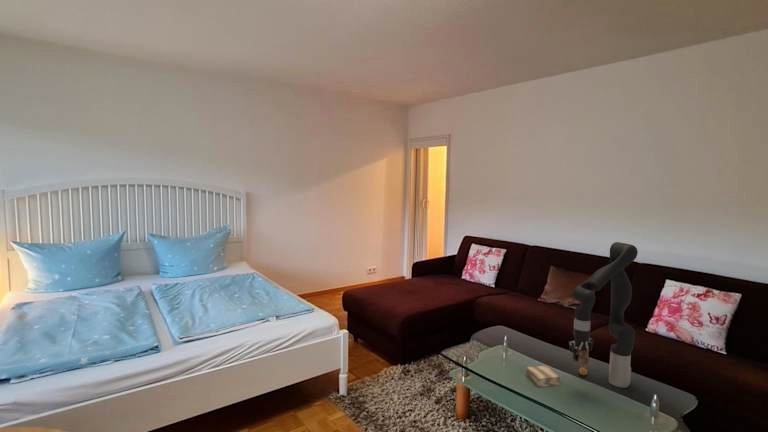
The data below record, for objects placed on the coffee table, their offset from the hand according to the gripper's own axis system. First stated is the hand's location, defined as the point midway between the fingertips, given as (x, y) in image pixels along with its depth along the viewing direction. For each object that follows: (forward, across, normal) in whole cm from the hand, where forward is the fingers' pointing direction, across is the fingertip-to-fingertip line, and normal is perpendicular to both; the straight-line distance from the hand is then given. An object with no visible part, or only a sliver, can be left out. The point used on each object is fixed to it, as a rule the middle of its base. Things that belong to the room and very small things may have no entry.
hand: (580, 359), depth 198 cm
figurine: (+18, -14, -12) cm, 25 cm away
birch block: (+18, +10, -15) cm, 25 cm away
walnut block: (+1, 0, 0) cm, 1 cm away
